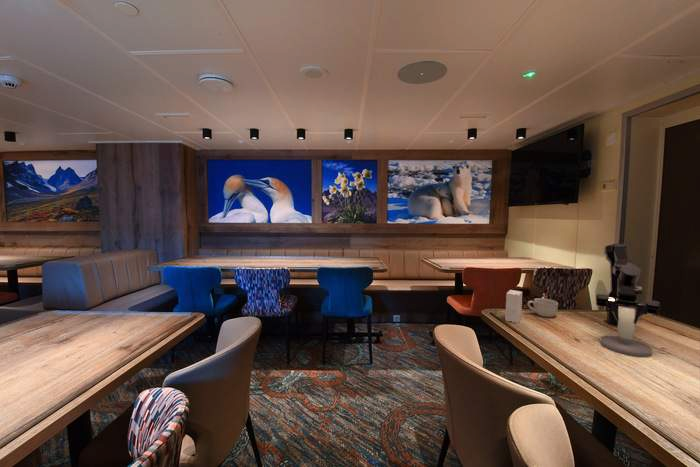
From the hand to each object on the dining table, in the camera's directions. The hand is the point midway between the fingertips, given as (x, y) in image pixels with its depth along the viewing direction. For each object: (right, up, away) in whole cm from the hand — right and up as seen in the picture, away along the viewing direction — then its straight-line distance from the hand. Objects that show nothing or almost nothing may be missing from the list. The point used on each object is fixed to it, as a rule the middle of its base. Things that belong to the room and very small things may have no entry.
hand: (626, 321), depth 114 cm
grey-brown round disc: (+1, -11, +2) cm, 11 cm away
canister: (+1, -7, +1) cm, 7 cm away
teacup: (-6, -9, +41) cm, 42 cm away
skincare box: (-25, -10, +34) cm, 43 cm away
